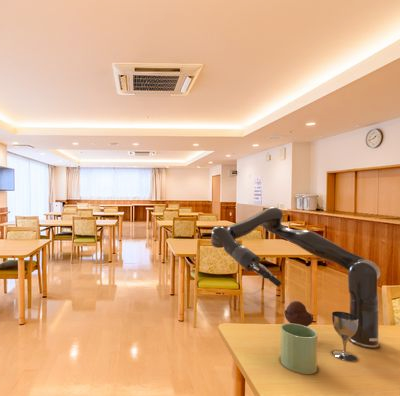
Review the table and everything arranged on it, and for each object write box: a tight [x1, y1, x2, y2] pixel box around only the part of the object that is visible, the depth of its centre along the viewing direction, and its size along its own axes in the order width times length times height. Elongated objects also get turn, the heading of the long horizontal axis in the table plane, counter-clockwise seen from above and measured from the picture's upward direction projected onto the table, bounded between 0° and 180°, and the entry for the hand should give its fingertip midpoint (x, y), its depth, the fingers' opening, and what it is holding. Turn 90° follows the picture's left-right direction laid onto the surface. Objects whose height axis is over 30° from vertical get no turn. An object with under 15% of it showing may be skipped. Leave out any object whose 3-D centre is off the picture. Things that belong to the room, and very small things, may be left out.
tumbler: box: [279, 322, 318, 375], centre depth 101 cm, size 11×11×12 cm
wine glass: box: [331, 310, 358, 362], centre depth 107 cm, size 8×8×15 cm
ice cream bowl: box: [283, 300, 314, 327], centre depth 122 cm, size 11×11×15 cm
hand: (279, 284), depth 111 cm, fingers closed
